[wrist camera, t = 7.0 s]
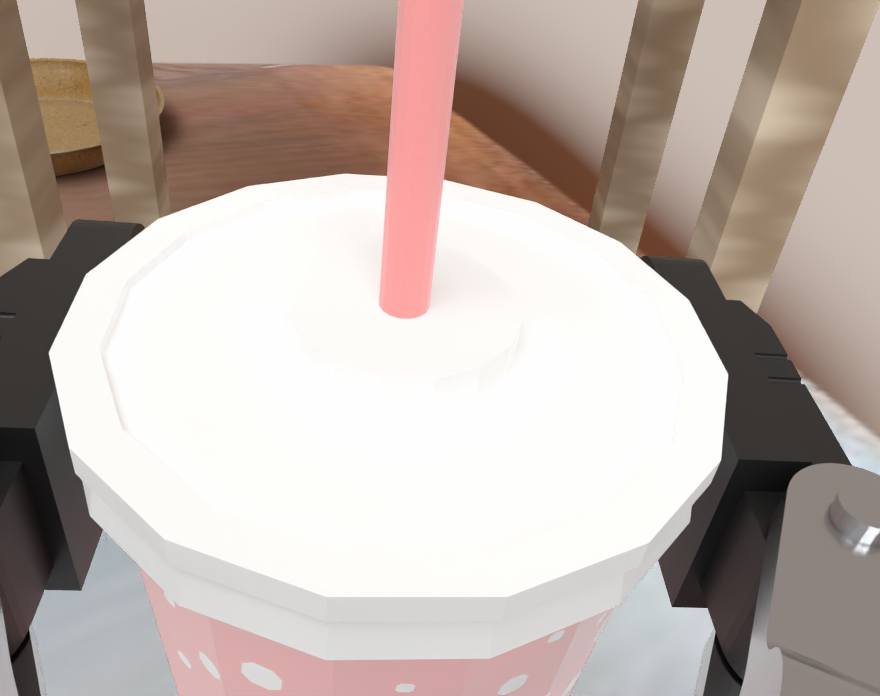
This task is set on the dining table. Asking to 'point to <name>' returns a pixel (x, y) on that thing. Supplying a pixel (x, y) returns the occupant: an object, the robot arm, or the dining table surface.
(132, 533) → the beverage cup
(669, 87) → the stand
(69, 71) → the plant saucer
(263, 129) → the dining table surface
